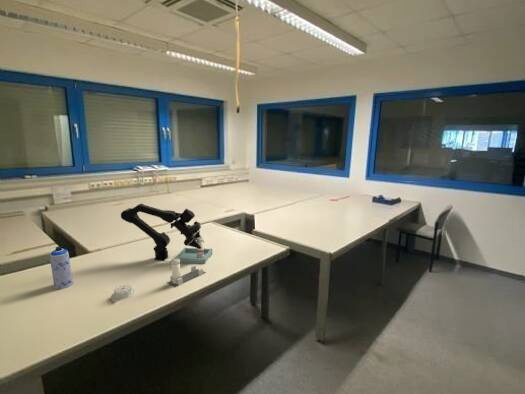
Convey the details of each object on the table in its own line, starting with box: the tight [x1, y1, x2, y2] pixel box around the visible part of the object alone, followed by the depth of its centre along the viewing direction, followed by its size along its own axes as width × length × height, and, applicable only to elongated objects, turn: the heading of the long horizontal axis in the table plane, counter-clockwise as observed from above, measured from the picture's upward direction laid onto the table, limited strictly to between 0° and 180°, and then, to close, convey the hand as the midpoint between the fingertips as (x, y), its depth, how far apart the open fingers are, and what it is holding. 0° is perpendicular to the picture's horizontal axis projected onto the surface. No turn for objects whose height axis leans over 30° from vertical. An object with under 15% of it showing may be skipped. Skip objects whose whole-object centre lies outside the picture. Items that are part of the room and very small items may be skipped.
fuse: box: [170, 257, 182, 284], centre depth 141 cm, size 4×4×12 cm
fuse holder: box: [166, 265, 207, 288], centre depth 147 cm, size 7×20×4 cm, turn 142°
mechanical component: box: [110, 284, 136, 303], centre depth 130 cm, size 10×4×10 cm
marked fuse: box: [196, 236, 205, 258], centre depth 171 cm, size 4×4×12 cm
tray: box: [174, 247, 213, 264], centre depth 172 cm, size 18×16×4 cm
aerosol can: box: [49, 245, 74, 290], centre depth 138 cm, size 8×8×20 cm
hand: (202, 245), depth 171 cm, fingers open, 9 cm apart
